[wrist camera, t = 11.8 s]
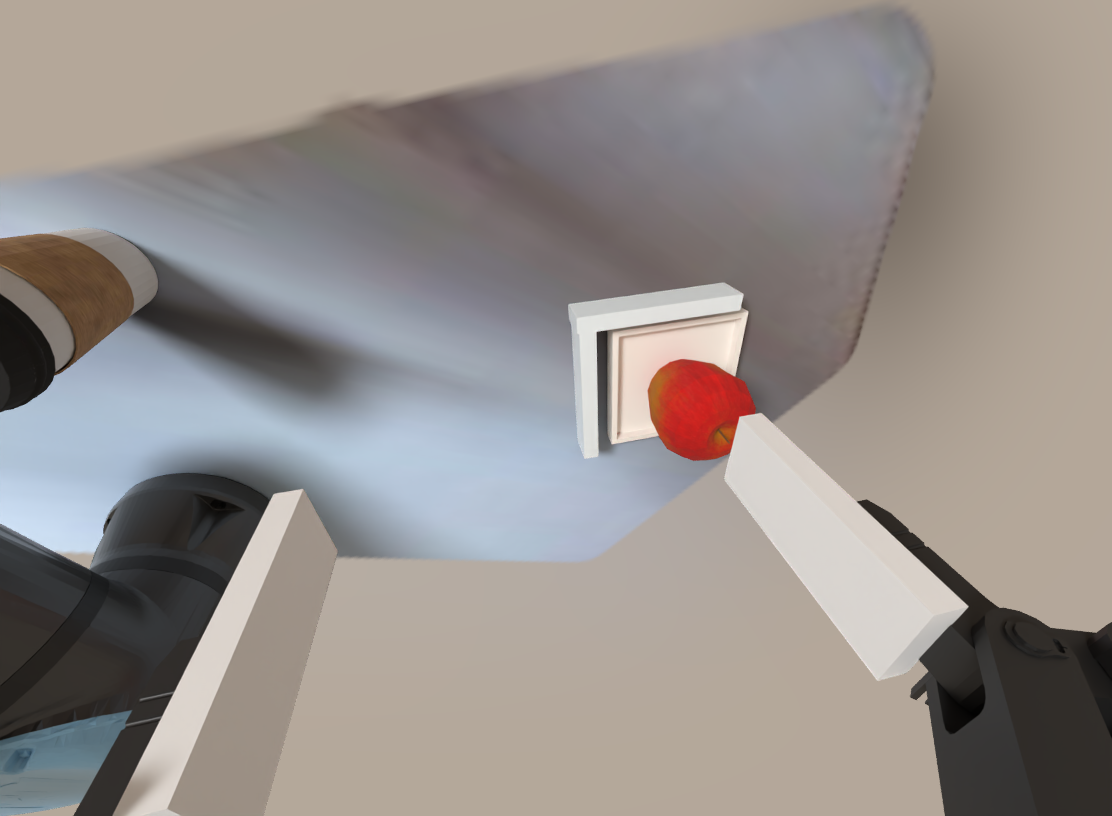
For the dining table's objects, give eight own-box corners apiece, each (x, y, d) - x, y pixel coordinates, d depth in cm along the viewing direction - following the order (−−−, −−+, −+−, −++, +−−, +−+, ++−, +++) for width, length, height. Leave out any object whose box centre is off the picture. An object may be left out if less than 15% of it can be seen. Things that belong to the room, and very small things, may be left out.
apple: (634, 422, 48) (682, 495, 38) (626, 354, 43) (679, 420, 33) (708, 399, 49) (774, 466, 39) (710, 330, 43) (786, 387, 34)
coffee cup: (120, 194, 29) (-125, 243, 17) (204, 307, 34) (61, 408, 22) (-2, 224, 29) (-343, 297, 16) (100, 334, 34) (-104, 452, 21)
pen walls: (575, 440, 49) (582, 459, 46) (568, 304, 40) (576, 318, 37) (702, 417, 51) (716, 434, 48) (724, 282, 42) (743, 294, 39)
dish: (607, 435, 50) (611, 444, 48) (607, 324, 42) (612, 331, 40) (717, 415, 51) (725, 423, 50) (738, 305, 43) (748, 311, 42)
